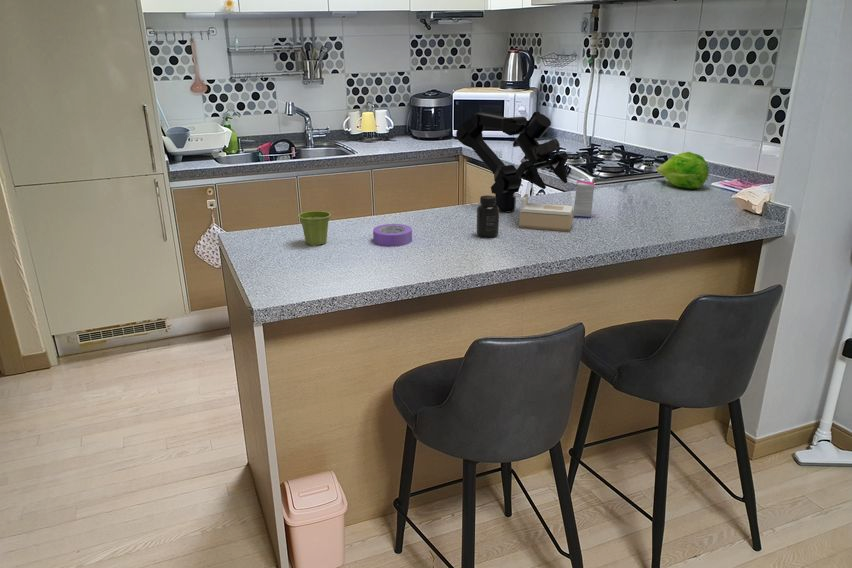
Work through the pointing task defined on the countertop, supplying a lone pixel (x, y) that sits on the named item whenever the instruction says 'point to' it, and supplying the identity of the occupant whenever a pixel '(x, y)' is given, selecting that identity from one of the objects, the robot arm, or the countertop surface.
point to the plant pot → (315, 226)
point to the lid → (544, 208)
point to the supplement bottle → (487, 217)
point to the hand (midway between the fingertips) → (555, 185)
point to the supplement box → (583, 199)
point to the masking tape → (392, 235)
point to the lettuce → (685, 170)
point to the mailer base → (546, 221)
